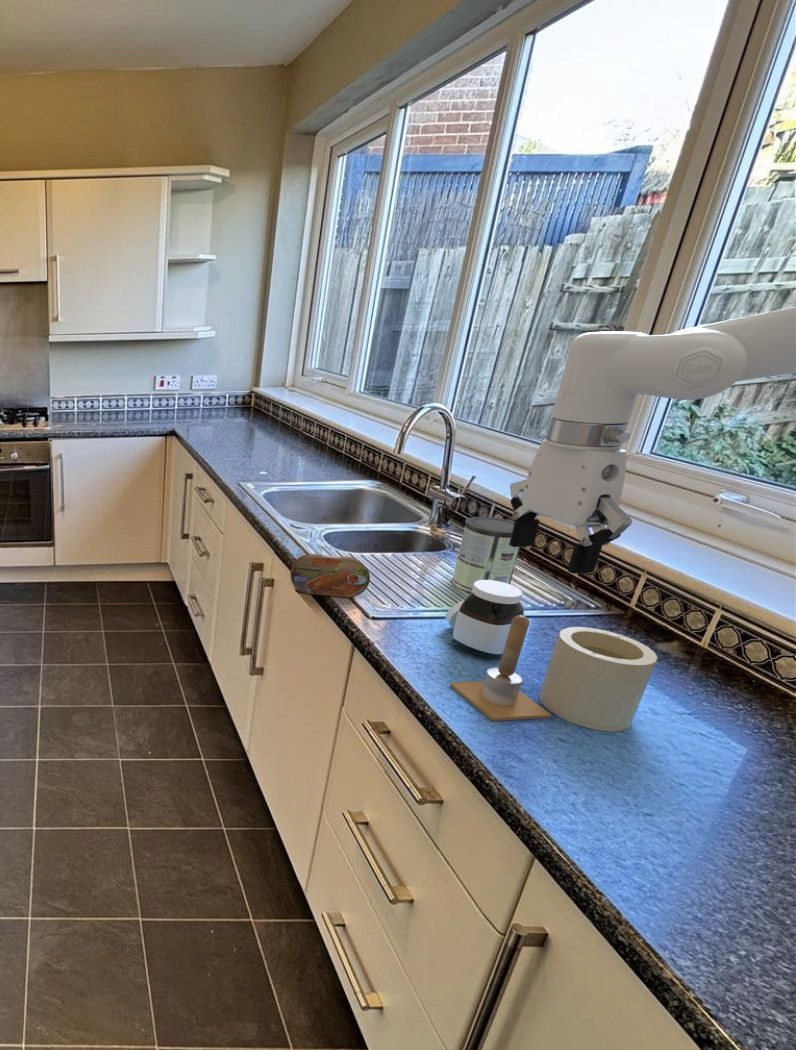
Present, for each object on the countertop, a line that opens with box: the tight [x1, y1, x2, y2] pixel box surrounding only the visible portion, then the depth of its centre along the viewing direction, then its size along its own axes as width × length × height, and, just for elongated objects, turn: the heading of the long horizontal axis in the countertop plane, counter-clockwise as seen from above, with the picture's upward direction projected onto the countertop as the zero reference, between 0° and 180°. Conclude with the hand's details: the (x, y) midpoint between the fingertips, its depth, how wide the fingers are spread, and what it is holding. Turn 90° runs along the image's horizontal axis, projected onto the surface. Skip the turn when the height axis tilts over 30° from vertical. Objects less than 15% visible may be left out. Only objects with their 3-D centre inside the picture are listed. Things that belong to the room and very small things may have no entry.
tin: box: [290, 553, 371, 599], centre depth 128 cm, size 15×3×8 cm, turn 73°
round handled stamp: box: [481, 615, 530, 706], centre depth 91 cm, size 4×4×14 cm
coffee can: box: [451, 516, 521, 594], centre depth 129 cm, size 10×10×14 cm
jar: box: [538, 626, 659, 733], centre depth 90 cm, size 11×11×11 cm
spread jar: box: [445, 580, 525, 659], centre depth 108 cm, size 12×11×12 cm
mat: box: [449, 680, 552, 722], centre depth 94 cm, size 9×9×1 cm
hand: (548, 558), depth 84 cm, fingers open, 9 cm apart
